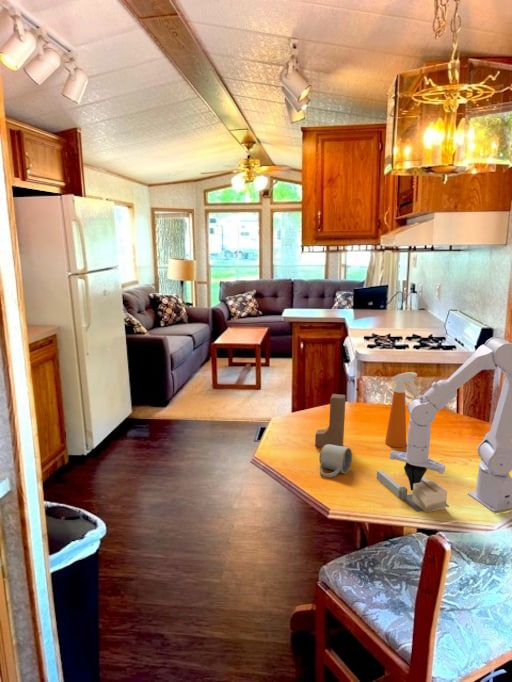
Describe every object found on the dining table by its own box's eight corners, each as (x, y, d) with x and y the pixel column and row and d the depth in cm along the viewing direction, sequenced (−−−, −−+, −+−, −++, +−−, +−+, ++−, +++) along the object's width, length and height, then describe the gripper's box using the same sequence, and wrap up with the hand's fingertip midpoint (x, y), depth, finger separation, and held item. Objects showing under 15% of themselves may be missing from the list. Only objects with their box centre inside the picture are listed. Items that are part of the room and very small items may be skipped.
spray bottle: (410, 452, 158) (416, 376, 153) (381, 443, 166) (386, 369, 160) (420, 446, 163) (426, 372, 158) (391, 437, 171) (396, 366, 165)
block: (445, 509, 125) (447, 490, 124) (425, 512, 123) (427, 494, 122) (431, 497, 130) (432, 480, 129) (411, 500, 128) (413, 483, 127)
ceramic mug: (327, 461, 152) (328, 438, 150) (352, 467, 148) (353, 444, 146) (312, 474, 143) (313, 450, 142) (338, 482, 139) (339, 457, 137)
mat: (449, 506, 126) (449, 506, 126) (416, 512, 123) (416, 511, 123) (430, 491, 134) (430, 491, 134) (399, 496, 131) (399, 496, 131)
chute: (436, 495, 132) (437, 484, 131) (401, 500, 129) (402, 489, 128) (408, 473, 144) (409, 463, 143) (376, 478, 141) (377, 468, 140)
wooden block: (314, 446, 163) (316, 395, 159) (317, 441, 167) (319, 392, 163) (341, 450, 160) (344, 398, 156) (343, 444, 164) (345, 394, 161)
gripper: (450, 445, 128) (445, 492, 131) (398, 432, 137) (394, 476, 140) (442, 454, 123) (437, 502, 125) (388, 440, 132) (384, 485, 134)
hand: (414, 489), depth 132 cm, fingers closed
